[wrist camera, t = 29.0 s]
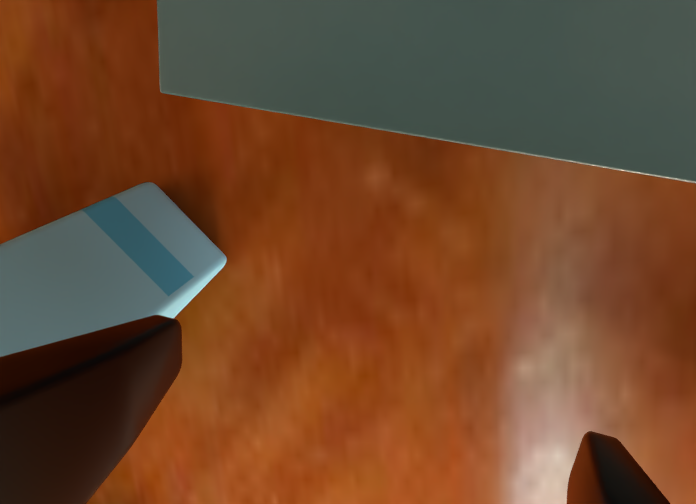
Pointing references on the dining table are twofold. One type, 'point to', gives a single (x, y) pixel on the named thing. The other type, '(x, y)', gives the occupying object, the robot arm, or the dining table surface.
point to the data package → (102, 269)
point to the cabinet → (456, 71)
